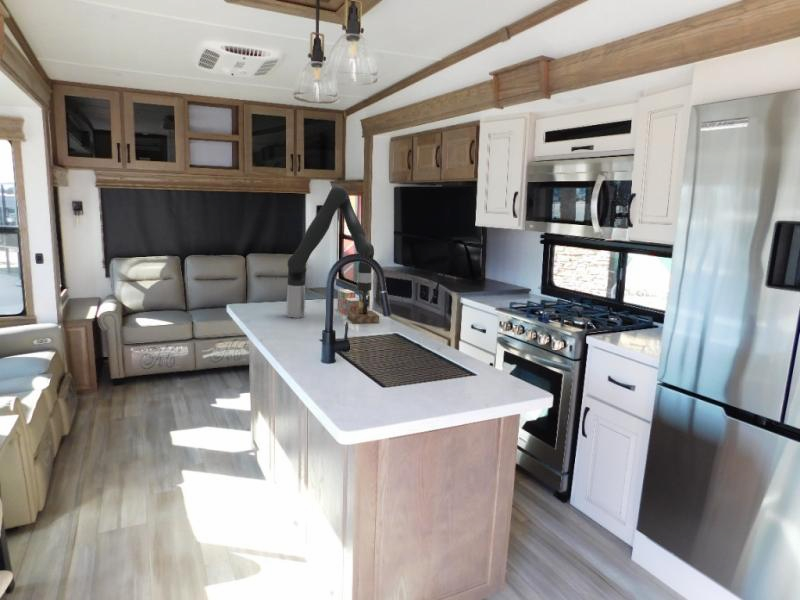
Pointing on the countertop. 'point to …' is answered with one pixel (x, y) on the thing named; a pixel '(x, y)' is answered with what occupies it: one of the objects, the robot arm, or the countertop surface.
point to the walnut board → (363, 317)
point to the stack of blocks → (347, 301)
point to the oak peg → (362, 307)
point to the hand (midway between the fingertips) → (363, 312)
